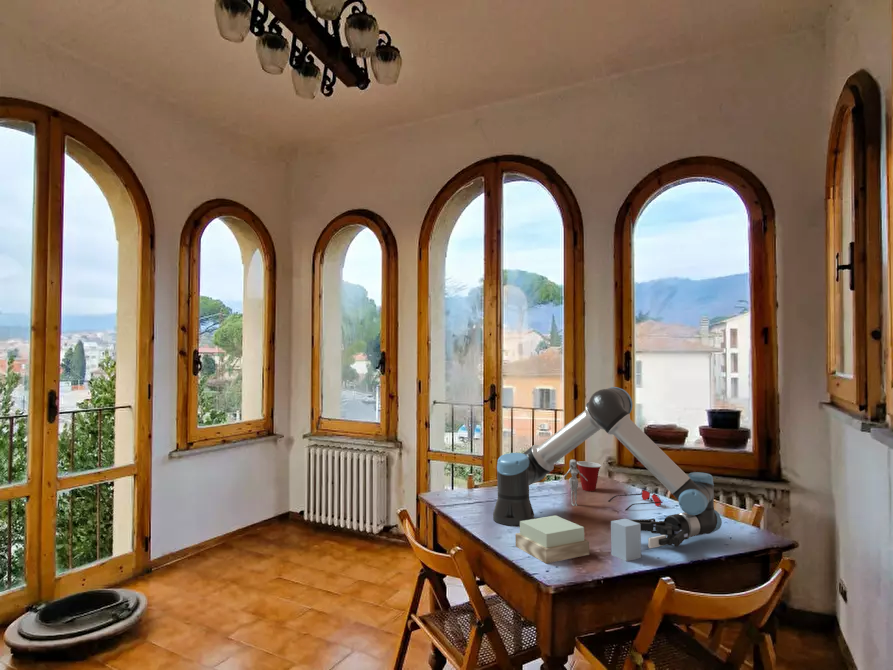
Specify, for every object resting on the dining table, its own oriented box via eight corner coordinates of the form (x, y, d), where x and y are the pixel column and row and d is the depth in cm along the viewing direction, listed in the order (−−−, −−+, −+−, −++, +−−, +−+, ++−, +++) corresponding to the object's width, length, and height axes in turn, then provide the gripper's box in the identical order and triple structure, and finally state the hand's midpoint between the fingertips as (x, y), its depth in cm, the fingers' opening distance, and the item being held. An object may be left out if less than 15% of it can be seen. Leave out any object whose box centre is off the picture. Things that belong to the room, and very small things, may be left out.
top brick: (519, 534, 171) (519, 521, 171) (555, 527, 177) (555, 515, 177) (546, 548, 158) (546, 534, 158) (584, 540, 164) (584, 527, 165)
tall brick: (611, 554, 164) (610, 521, 164) (626, 551, 166) (625, 518, 167) (626, 561, 158) (625, 526, 159) (641, 557, 161) (640, 523, 161)
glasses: (663, 508, 214) (663, 496, 214) (625, 511, 210) (625, 498, 211) (643, 499, 227) (643, 487, 228) (607, 502, 224) (607, 490, 224)
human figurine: (561, 506, 217) (560, 461, 217) (558, 503, 220) (557, 459, 221) (589, 505, 218) (589, 460, 219) (586, 502, 222) (585, 458, 223)
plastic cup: (602, 493, 237) (602, 465, 237) (577, 492, 239) (577, 464, 239) (600, 487, 247) (600, 461, 248) (576, 486, 250) (576, 460, 250)
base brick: (515, 546, 171) (515, 533, 171) (556, 538, 178) (556, 526, 178) (546, 563, 157) (546, 549, 157) (589, 554, 164) (589, 541, 164)
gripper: (716, 550, 161) (665, 562, 152) (650, 527, 183) (602, 536, 174) (715, 525, 161) (664, 535, 152) (650, 504, 184) (602, 513, 174)
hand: (631, 536), depth 163 cm, fingers open, 13 cm apart
